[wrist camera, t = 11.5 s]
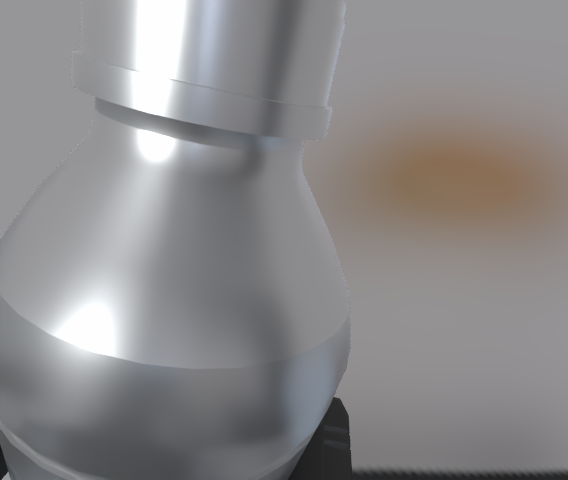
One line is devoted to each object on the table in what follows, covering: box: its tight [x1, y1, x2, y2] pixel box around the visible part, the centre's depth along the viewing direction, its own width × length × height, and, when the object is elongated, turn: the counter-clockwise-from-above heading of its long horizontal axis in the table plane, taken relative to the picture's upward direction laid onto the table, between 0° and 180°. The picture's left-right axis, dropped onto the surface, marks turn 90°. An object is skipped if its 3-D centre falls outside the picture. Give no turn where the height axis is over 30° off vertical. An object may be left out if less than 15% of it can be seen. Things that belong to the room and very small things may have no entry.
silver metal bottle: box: [0, 0, 350, 480], centre depth 10 cm, size 6×7×20 cm
